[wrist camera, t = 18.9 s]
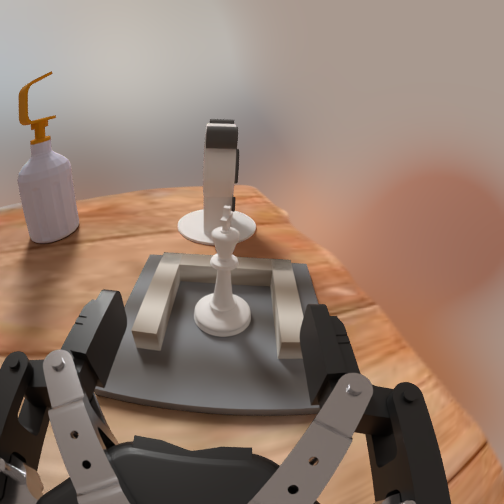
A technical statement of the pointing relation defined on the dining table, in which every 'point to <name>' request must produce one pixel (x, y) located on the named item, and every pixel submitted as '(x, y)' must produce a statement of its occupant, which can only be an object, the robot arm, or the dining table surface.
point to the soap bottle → (45, 183)
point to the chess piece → (223, 287)
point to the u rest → (214, 340)
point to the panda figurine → (217, 186)
